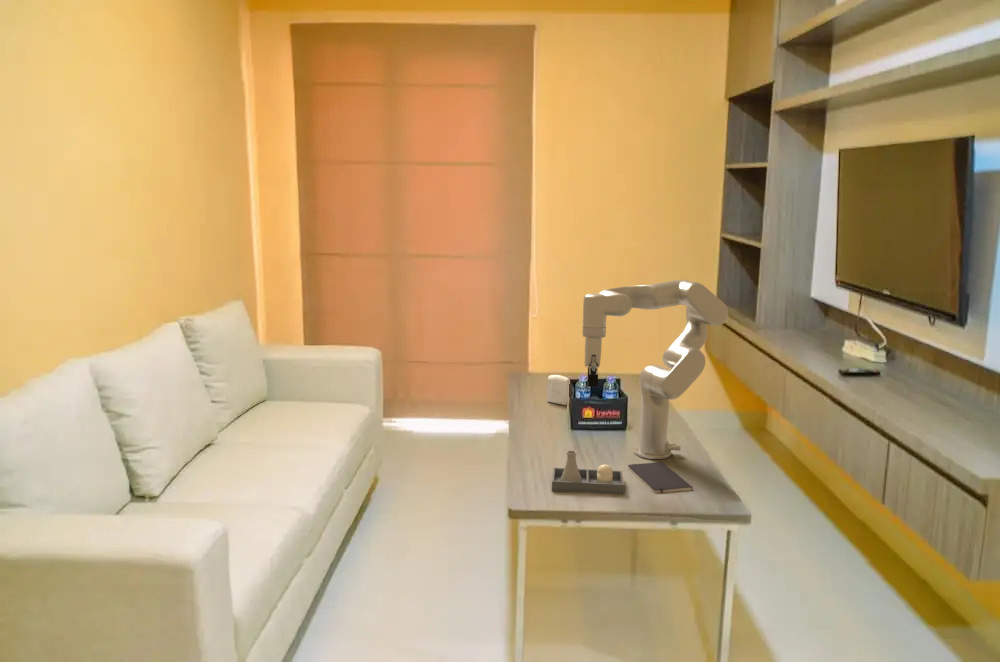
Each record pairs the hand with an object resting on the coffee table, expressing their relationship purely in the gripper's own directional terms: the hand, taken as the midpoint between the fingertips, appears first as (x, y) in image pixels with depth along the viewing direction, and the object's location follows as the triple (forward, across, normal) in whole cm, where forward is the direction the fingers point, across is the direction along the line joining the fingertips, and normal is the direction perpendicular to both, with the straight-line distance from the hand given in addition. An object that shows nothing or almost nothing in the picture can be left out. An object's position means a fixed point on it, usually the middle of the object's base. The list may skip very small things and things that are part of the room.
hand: (592, 382), depth 237 cm
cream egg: (+28, +19, +4) cm, 34 cm away
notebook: (+29, +10, +22) cm, 38 cm away
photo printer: (+29, -69, -13) cm, 76 cm away
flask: (+28, +19, -6) cm, 34 cm away
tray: (+28, +19, -1) cm, 34 cm away
